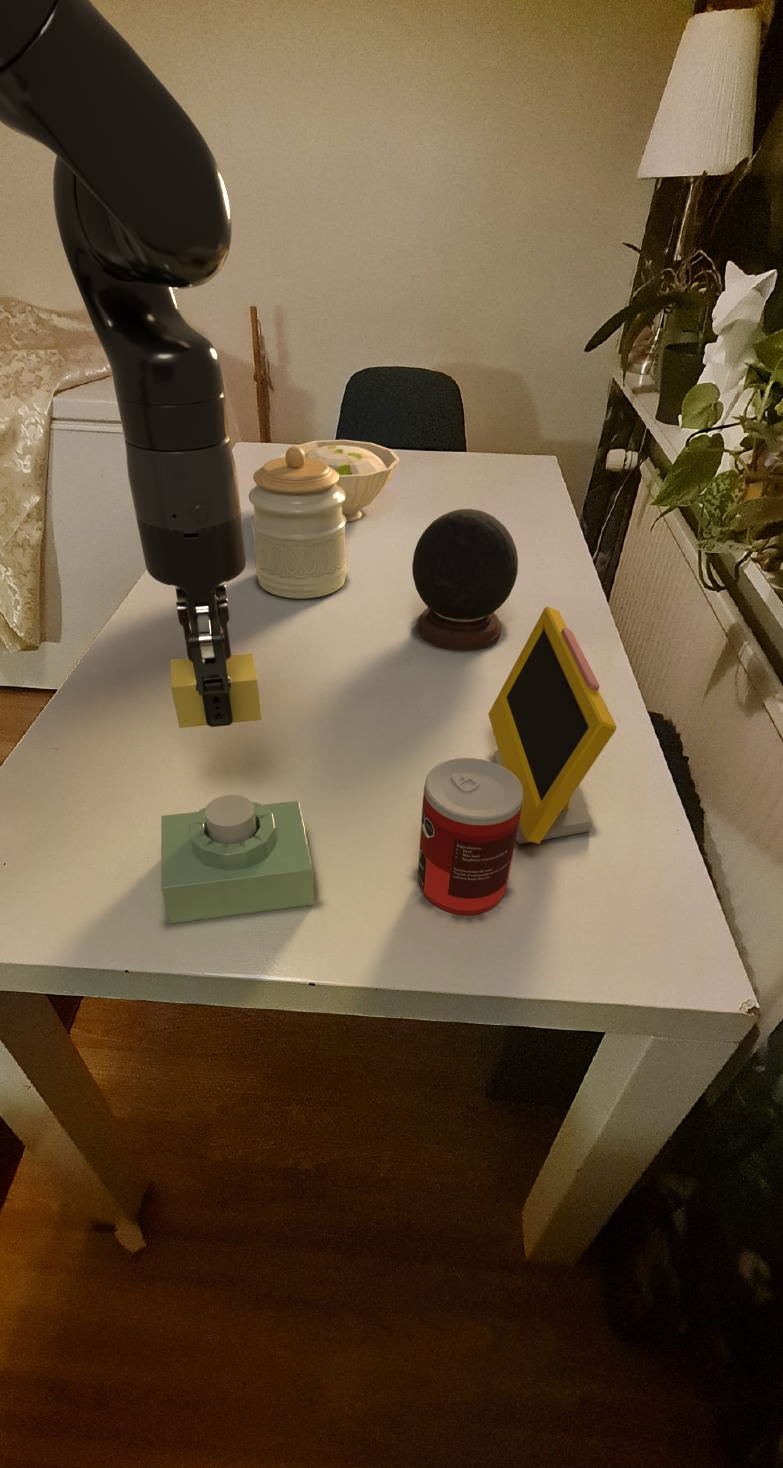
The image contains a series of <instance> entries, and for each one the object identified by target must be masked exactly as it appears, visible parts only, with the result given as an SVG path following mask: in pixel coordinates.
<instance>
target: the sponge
mask: <svg viewBox="0 0 783 1468" xmlns="http://www.w3.org/2000/svg"><path fill="white" fill-rule="evenodd" d="M226 665H227V673H228V677H230V681H231V688H229V689H230V693H229V696H230V703H231V710H232V718H233V722H232V724H235V723H236V724H237V723H246V722H257V721H262V712H261V703H260V693H259V683H258V677H257V670H256V665H255V657H254V654H253V653H241V654H231V657H230V658H229V659H228V660H227V661H226ZM196 684H197V683H196V677H195V672H194V667H193V662H191V661H190V660H189V659H188V658H180V659H171V660H170V687H171V693H172V697H173V698H172V699H173V703H174V708H175V713H176V719H177V723H178V728H180V729H181V728H192V727H201V726H208V725H207V722H206V716H205V710H204V704H203V699H202V695H199V693H198V691H196Z"/></svg>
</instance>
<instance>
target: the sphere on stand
mask: <svg viewBox="0 0 783 1468" xmlns="http://www.w3.org/2000/svg"><path fill="white" fill-rule="evenodd" d="M411 568H412V578H413V582H414V586H415V589H416V591H417V593H418V596H419V598H420V599H421V601H422V602H423V603H424V604H425V606H426V608H425V609H424V610H423V612H422V613H421V614H420V615H419V617H417V619H416V620H417V621H416V632H417V634H418V635H419V637H420V638H422V640H424V641H425V642H427V643H428V644H431V645H433V646H435V647H438V648H441V649H444V650H445V649H446V650H451V651H475V650H481V649H485V648H488V647H490V646H493V645H494V644H495V643H497V642H498V641H499V640H500V638H501V636H502V631H503V630H502V629H503V627H502V623H501V621H500V620H499V619H498V615H496V613H495V612H496V611H497V610H498V609H499V608H500V607H502V605H503V604H504V603H505V602H506V601H507V600H508V598H509V597H510V595H511V593H512V591H513V588H514V586H515V585H516V581H517V577H518V572H519V571H518V570H519V557H518V551H517V545H516V544H515V540H514V538H513V537H512V535H511V533H510V532H509V530H508V528H507V526H505V525H504V524H503V523H502V522H501V521H499V520H498V518H496V517H495V516H493V515H491V514H489V513H488V512H486V511H482V510H479V509H472V508H461V509H460V508H459V509H455V510H451V511H449V512H446V513H444V514H442V515H441V516H438V517H437V518H435V519H434V520H433V521H432V522H431V523H430V524H429V525H428V526H427V527H426V528H425V530H424V531H423V533H422V534H421V535H420V538H419V539H418V541H417V543H416V546H415V549H414V552H413V558H412V564H411Z"/></svg>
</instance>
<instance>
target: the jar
mask: <svg viewBox="0 0 783 1468" xmlns="http://www.w3.org/2000/svg"><path fill="white" fill-rule="evenodd" d="M293 446H294V447H292V446H290V447H288V448H287V450H286V451H287V452H286V451H285V452H286V455H285V457H283V458H282V457H278V458H274V459H273V458H272V459H271V460H269V461H267V462H265V463H264V464H263V466H261V467H260V468H258V469H257V470H256V471H255V472H254V473H253V476H252V479H253V482H254V483H255V484H256V485H255V486H253V487H252V489H250V490H249V493H248V501H249V502H250V503H251V504H252V505H253V515H252V516H251V519H250V524H251V527H252V532H253V533H252V534H253V542H254V543H253V544H254V553H255V555H254V556H255V564H254V567H255V575H256V577H257V580H258V585H259V586H260V587H261V588H262V589H263V590H265V591H266V592H268V593H269V594H272V595H275V596H277V597H278V596H279V597H283V598H287V599H288V598H289V599H314V598H321V597H324V596H327V595H330V594H332V593H334V592H336V591H338V590H339V589H340V588H342V587H343V586H344V584H345V582H346V575H347V565H348V564H347V561H346V525H347V522H346V519H345V517H344V515H343V514H342V504H343V502H344V501H345V498H346V495H345V492H344V491H343V489H342V488H340V487H339V486H338V485H337V484H336V483H337V482H338V481H339V475H338V473H337V472H336V471H335V470H334V469H332V468H330V467H328V465H327V464H326V463H325V462H323V461H321V460H318V459H314V458H308V457H305V454H304V452H303V450H302V449H301V448H299V447H296V445H293Z"/></svg>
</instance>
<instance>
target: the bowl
mask: <svg viewBox="0 0 783 1468" xmlns="http://www.w3.org/2000/svg"><path fill="white" fill-rule="evenodd" d="M294 446H296V447H299V448H301V449H302V450H303V452H304V454H305V457H308V458H314V459H318V460H321V461H323V462H325V463H326V464H327V465H328V467H330V468H332V469H334V470H335V471H336V472H337V473H338V475H339V481H338V482H337V483H336V484H337V485H338V486H339V487H340V488H342V489H343V491H344V492H345V495H346V498H345V501H344V502H343V504H342V514H343V515H344V517H345V519H346V523H347V522H353V521H356V520H359V519H361V517H362V516H363V513H362V512H361V510H362V509H364V508H366V507H367V506H368V505H370V504H371V503H372V502H373V501H374V499H375V498H376V497H377V496H378V495H379V493H381V491H382V490H383V489H384V488H385V486H386V485H387V484H388V483H389V482H390V481H391V479H392V476H393V475H394V473H395V470H396V469H397V467H398V464H399V463H400V460H401V458H400V457H399V456H398V455H397V454H396V452H395V451H394V450H393V449H392V448H391V449H390V448H388V447H385V446H382V445H379V444H376V443H373V442H367V441H358V440H349V439H325V440H313V441H309V442H304V443H300V444H296V445H292V446H291V447H294ZM286 452H287V450H286V451H284V452H282V454H280V457H281V458H283V457H285V455H286Z"/></svg>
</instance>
